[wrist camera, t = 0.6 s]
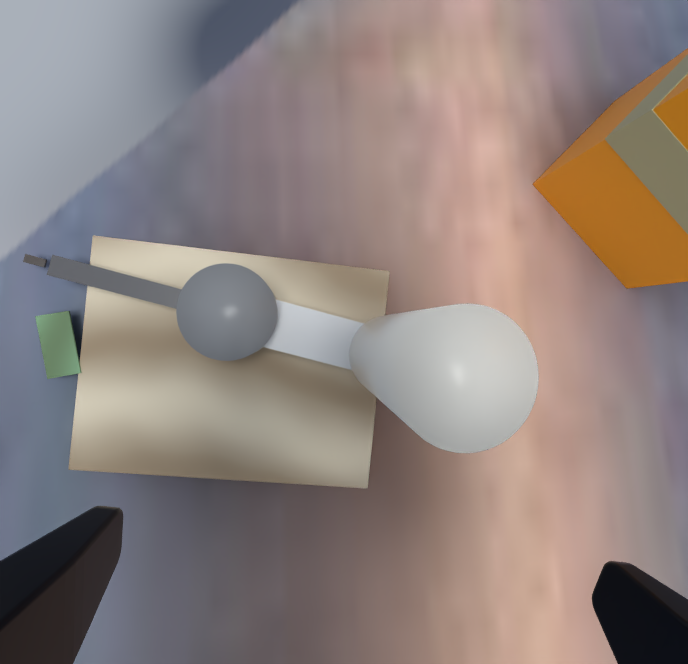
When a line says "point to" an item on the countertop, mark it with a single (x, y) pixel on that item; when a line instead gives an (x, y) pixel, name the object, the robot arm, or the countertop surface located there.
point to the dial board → (212, 377)
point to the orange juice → (632, 181)
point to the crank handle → (360, 348)
